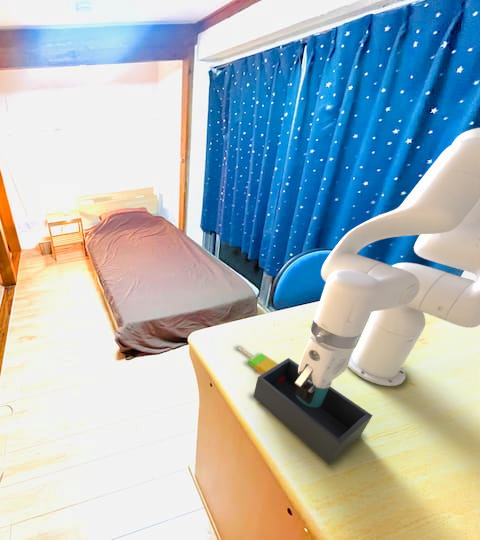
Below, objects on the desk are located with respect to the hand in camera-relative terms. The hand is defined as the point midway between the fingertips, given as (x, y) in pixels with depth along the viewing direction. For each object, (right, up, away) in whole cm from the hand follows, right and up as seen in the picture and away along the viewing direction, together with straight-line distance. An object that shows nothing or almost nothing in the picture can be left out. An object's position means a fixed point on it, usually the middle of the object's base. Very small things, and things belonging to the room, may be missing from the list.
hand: (311, 392), depth 63 cm
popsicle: (-2, 0, +18) cm, 19 cm away
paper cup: (0, -2, +1) cm, 2 cm away
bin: (+1, -7, +4) cm, 9 cm away
